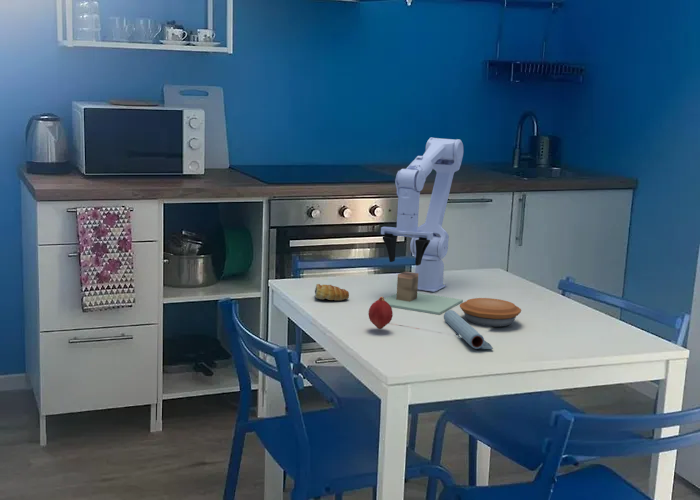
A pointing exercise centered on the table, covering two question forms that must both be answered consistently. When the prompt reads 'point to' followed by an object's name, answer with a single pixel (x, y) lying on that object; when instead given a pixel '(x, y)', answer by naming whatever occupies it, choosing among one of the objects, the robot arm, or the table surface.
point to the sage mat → (425, 303)
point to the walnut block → (407, 286)
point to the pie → (490, 311)
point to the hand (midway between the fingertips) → (404, 263)
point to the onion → (380, 313)
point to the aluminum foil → (466, 330)
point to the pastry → (330, 292)
